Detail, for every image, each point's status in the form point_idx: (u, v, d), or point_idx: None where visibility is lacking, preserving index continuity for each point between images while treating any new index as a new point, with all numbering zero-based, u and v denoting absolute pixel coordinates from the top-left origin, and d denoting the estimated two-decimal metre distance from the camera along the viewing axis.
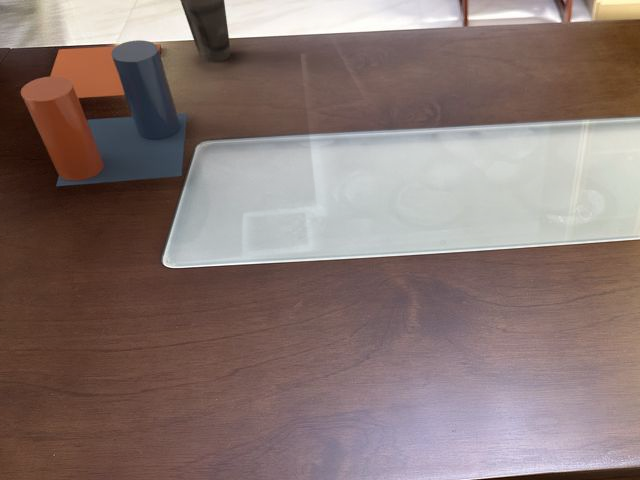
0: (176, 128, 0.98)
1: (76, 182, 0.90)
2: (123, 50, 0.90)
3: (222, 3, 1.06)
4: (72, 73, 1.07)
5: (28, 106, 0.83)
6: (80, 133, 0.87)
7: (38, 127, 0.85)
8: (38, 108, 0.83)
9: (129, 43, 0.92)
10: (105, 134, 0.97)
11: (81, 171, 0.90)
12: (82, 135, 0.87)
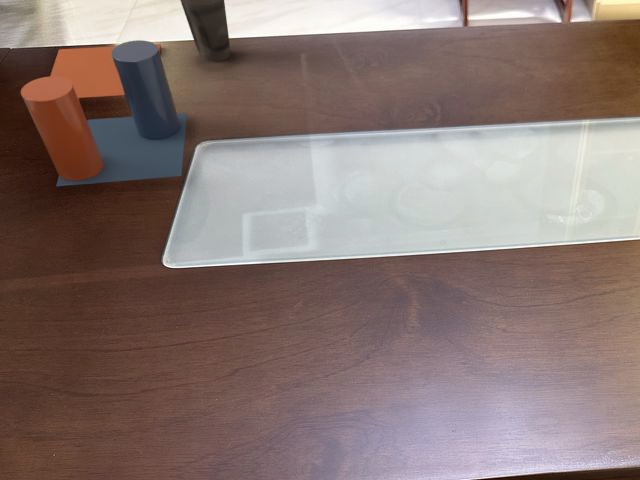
0: (176, 128, 0.98)
1: (76, 182, 0.90)
2: (123, 50, 0.90)
3: (222, 3, 1.06)
4: (72, 73, 1.07)
5: (28, 106, 0.83)
6: (80, 133, 0.87)
7: (38, 127, 0.85)
8: (38, 108, 0.83)
9: (129, 43, 0.92)
10: (105, 134, 0.97)
11: (81, 171, 0.90)
12: (82, 135, 0.87)
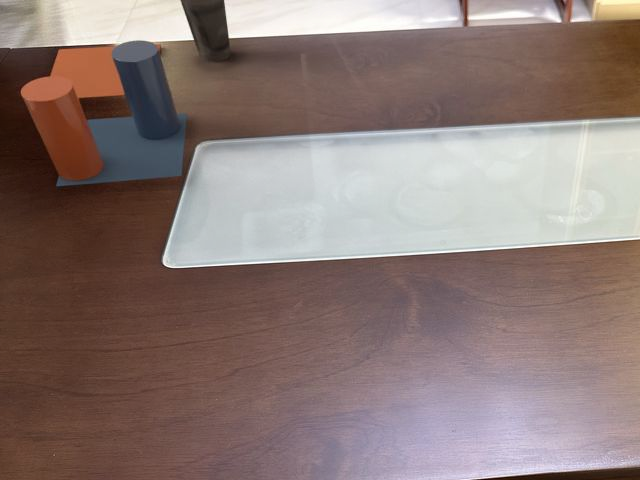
0: (176, 128, 0.98)
1: (76, 182, 0.90)
2: (123, 50, 0.90)
3: (222, 3, 1.06)
4: (72, 73, 1.07)
5: (28, 106, 0.83)
6: (80, 133, 0.87)
7: (38, 127, 0.85)
8: (38, 108, 0.83)
9: (129, 43, 0.92)
10: (105, 134, 0.97)
11: (81, 171, 0.90)
12: (82, 135, 0.87)
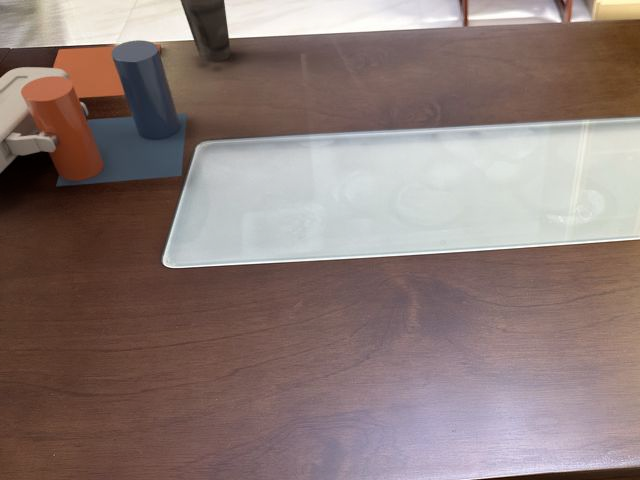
0: (176, 128, 0.98)
1: (76, 182, 0.90)
2: (123, 50, 0.90)
3: (222, 3, 1.06)
4: (72, 73, 1.07)
5: (28, 106, 0.83)
6: (80, 133, 0.87)
7: (38, 127, 0.85)
8: (38, 108, 0.83)
9: (129, 43, 0.92)
10: (105, 134, 0.97)
11: (81, 171, 0.90)
12: (82, 135, 0.87)
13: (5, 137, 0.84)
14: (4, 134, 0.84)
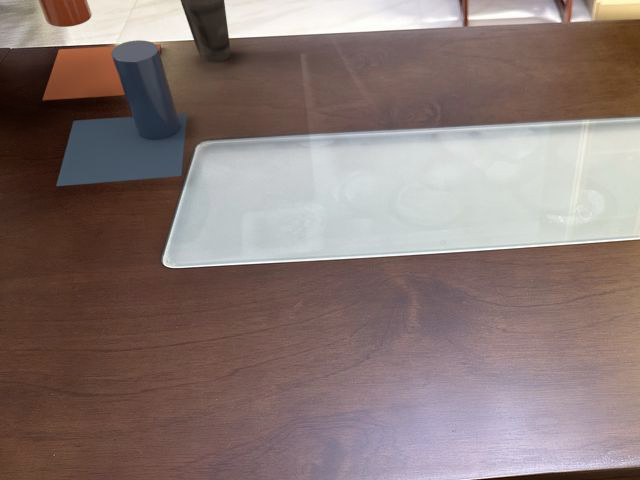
0: (176, 128, 0.98)
1: (76, 182, 0.90)
2: (123, 50, 0.90)
3: (222, 3, 1.06)
4: (72, 73, 1.07)
5: None
6: None
7: None
8: None
9: (129, 43, 0.92)
10: (105, 134, 0.97)
11: (68, 16, 0.92)
12: None
13: None
14: None
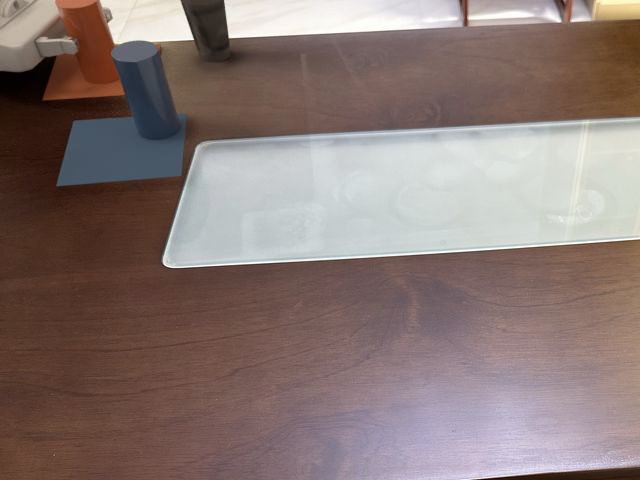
0: (176, 128, 0.98)
1: (76, 182, 0.90)
2: (123, 50, 0.90)
3: (222, 3, 1.06)
4: (72, 73, 1.07)
5: (61, 13, 0.98)
6: (104, 40, 1.02)
7: (69, 33, 1.00)
8: (70, 15, 0.98)
9: (129, 43, 0.92)
10: (105, 134, 0.97)
11: (104, 75, 1.05)
12: (106, 42, 1.02)
13: (34, 39, 0.98)
14: (39, 32, 0.98)
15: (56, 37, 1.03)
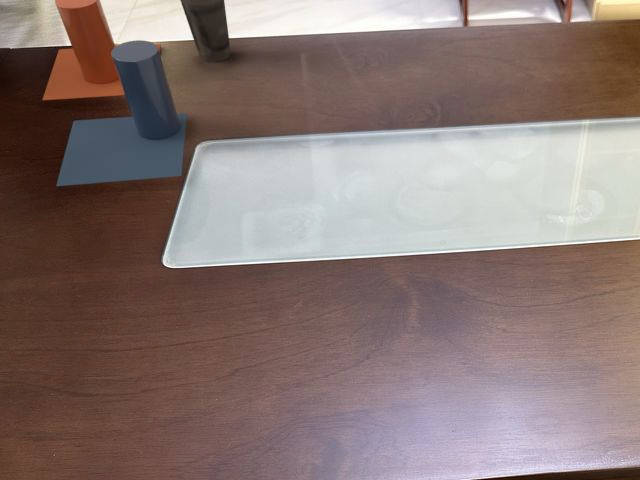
0: (176, 128, 0.98)
1: (76, 182, 0.90)
2: (123, 50, 0.90)
3: (222, 3, 1.06)
4: (72, 73, 1.07)
5: (61, 13, 0.98)
6: (104, 40, 1.02)
7: (69, 33, 1.00)
8: (70, 15, 0.98)
9: (129, 43, 0.92)
10: (105, 134, 0.97)
11: (104, 75, 1.05)
12: (106, 42, 1.02)
13: None
14: None
15: None
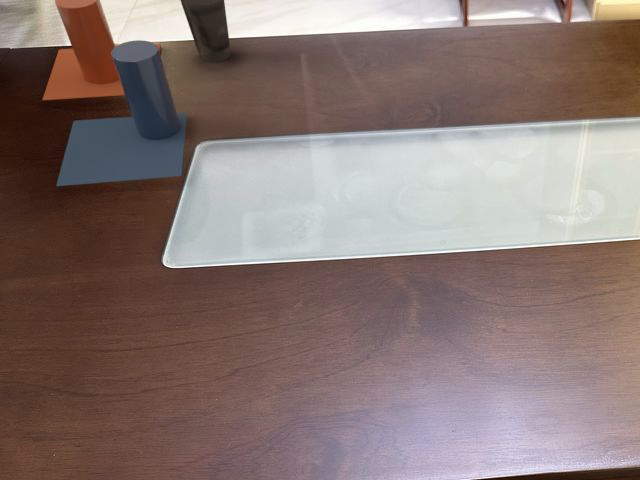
0: (176, 128, 0.98)
1: (76, 182, 0.90)
2: (123, 50, 0.90)
3: (222, 3, 1.06)
4: (72, 73, 1.07)
5: (61, 13, 0.98)
6: (104, 40, 1.02)
7: (69, 33, 1.00)
8: (70, 15, 0.98)
9: (129, 43, 0.92)
10: (105, 134, 0.97)
11: (104, 75, 1.05)
12: (106, 42, 1.02)
13: None
14: None
15: None
